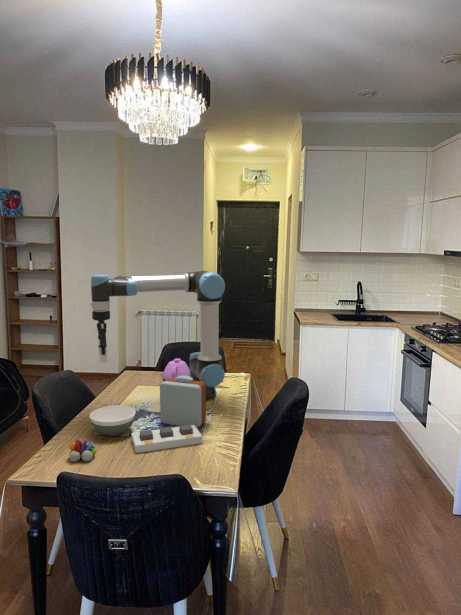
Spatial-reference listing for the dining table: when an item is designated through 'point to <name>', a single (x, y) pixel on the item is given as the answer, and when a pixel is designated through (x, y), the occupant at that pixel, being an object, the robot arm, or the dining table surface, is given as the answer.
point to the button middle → (166, 432)
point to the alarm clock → (183, 401)
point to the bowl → (112, 419)
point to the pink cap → (176, 369)
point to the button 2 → (186, 429)
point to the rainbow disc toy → (81, 451)
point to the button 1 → (146, 435)
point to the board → (166, 440)
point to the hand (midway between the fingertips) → (102, 358)
